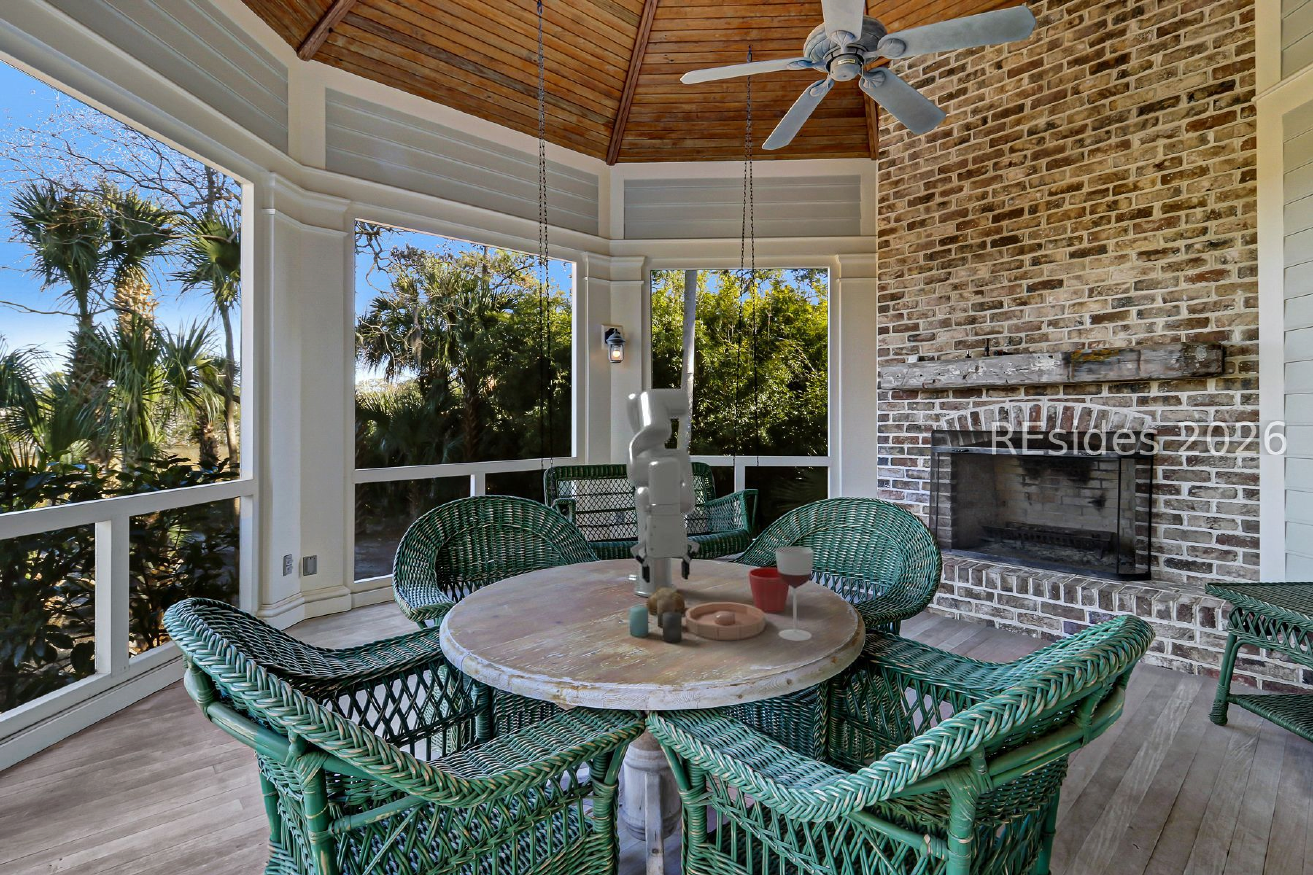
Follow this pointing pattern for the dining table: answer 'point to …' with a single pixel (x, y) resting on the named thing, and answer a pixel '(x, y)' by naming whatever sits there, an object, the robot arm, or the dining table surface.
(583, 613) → the dining table surface
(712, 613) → the groove dish
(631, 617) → the teal capsule
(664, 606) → the bead
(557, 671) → the dining table surface
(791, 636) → the wineglass
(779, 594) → the flower pot
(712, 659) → the dining table surface
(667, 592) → the bread roll
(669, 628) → the bead
